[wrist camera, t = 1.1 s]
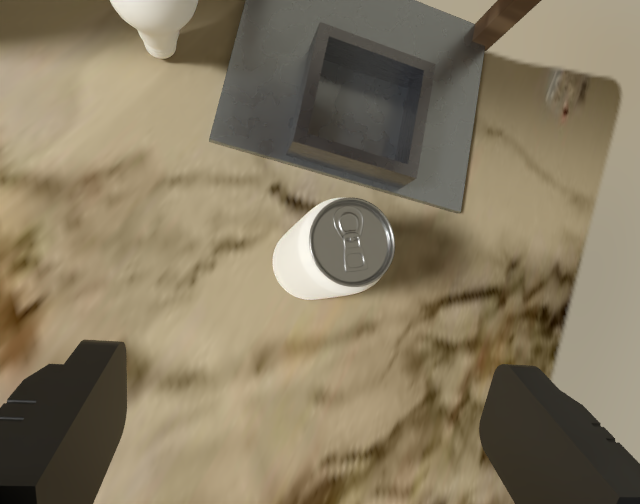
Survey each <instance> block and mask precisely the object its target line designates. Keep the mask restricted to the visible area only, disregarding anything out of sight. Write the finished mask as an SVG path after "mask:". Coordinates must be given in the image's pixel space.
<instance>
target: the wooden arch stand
mask: <svg viewBox="0 0 640 504" xmlns="http://www.w3.org/2000/svg"><path fill="white" fill-rule="evenodd" d="M540 1H541V0H498V1H497V2H496V3H495V4H494V5H493V6H492V7H491V8H490V9H489V10H488V11H487V12H486V13H485V14H484V16H483V17H482V18H480V19H479V21H478V22H477V23H476V24H475V27H474V34H473V40H472V41H473V42H476V43H478V44H481V45H483V46H485V50H484V51H486V50H487V49H489V48H490V47H491V46H492V45H493V44H494V43H495V42H496V41H497V40H498V39H499V38H500V37H502V36H503V35H504V34H505V33H506V32H507V31H508V30H509V29H510V28H511V27H513V26H514V24H516V23H517V22H518V21H519V20H520V19H521V18H522V17H524V16H525V15H526V14H527V13H528V12H529V11H530V10H531V9H532V8H533V7H534V6H536V5H537V4H538V3H539V2H540Z"/></svg>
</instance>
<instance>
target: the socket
mask: <svg viewBox="0 0 640 504" xmlns="http://www.w3.org/2000/svg"><path fill="white" fill-rule="evenodd" d="M474 27H475V24H473V23H471V22H468V21H466V20H463V19H461V18H458V17H456V16H453V15H451V14H448V13H445V12H443V11H440V10H438V9H435V8H433V7H430V6H428V5H425V4H423V3H420V2H418V1H415V0H246V1H245V5H244V9H243V13H242V17H241V20H240V24H239V28H238V32H237V36H236V39H235V43H234V47H233V51H232V55H231V58H230V62H229V66H228V70H227V74H226V77H225V81H224V85H223V89H222V93H221V96H220V100H219V104H218V108H217V112H216V116H215V119H214V123H213V127H212V131H211V135H210V138H209V142H212V143H216V144H219V145H223V146H226V147H229V148H233V149H236V150H240V151H243V152H247V153H250V154H254V155H257V156H261V157H264V158H267V159H271V160H274V161H278V162H281V163H285V164H288V165H292V166H295V167H299V168H302V169H306V170H309V171H312V172H316V173H319V174H323V175H326V176H330V177H333V178H337V179H340V180H344V181H347V182H351V183H354V184H357V185H361V186H364V187H368V188H371V189H375V190H378V191H382V192H385V193H389V194H392V195H395V196H399V197H402V198H406V199H409V200H413V201H416V202H420V203H423V204H427V205H430V206H434V207H437V208H440V209H444V210H447V211H451V212H454V213H460V212H461V207H462V200H463V193H464V187H465V180H466V173H467V166H468V159H469V152H470V146H471V139H472V132H473V125H474V118H475V112H476V105H477V98H478V91H479V84H480V77H481V71H482V64H483V57H484V50H485V46H483V45H481V44H478V43H476V42H473V41H472V40H473V34H474Z"/></svg>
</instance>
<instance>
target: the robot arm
mask: <svg viewBox="0 0 640 504" xmlns="http://www.w3.org/2000/svg"><path fill="white" fill-rule="evenodd" d="M126 412H127V373H126V347H125V344H124V342H115V341H97V340H83V341H81V342H80V344H79V345H78V346H77V348H76V349H75V350H74V352H73V353H72V354H71V356H70V357H69V358H68V360H67V361H66V362H65V364H64V365H62V364H48V365H47V366H45V367H44V368H42V369H40V370H39V371H37V372H36V373H34V374H32V375H31V376H29V377H28V378H26V379H24V380H23V381H22V383H21V384H20V385H19V386H18V387H17V389H16V390H15V391H14V392H13V393H12V395H11V396H10V397H9V398H8V399H7V403H6V404H5V403H4V404H3V405H2V406H1V408H0V504H93V502H94V500H95V498H96V495H97V493H98V491H99V488H100V486H101V484H102V481H103V479H104V477H105V474H106V472H107V470H108V467H109V465H110V463H111V460H112V458H113V456H114V453H115V451H116V448H117V446H118V444H119V441H120V439H121V436H122V433H123V429H124V425H125V420H126ZM479 432H480V440H481V444H482V447H483V449H484V451H485V453H486V455H487V456H488V458H489V460H490V461H491V463H492V465H493V467H494V468H495V470H496V472H497V473H498V475H499V477H500V479H501V480H502V482H503V484H504V485H505V487H506V489H507V491H508V492H509V494H510V496H511V497H512V499H513V501H514V503H515V504H640V464H639V463H638V462H637V461H636V460H635V459H634V458H633V456H632V455H631V454H629V452H628V451H627V450H626V449H625V448H624V447H622V445H621V444H620V443H616V442H615V438H614V437H613V436H612V435H611V434H610V433H609V432H608V431H607V430H606V429H605V428H604V427H601V426H600V423H599V422H598V421H597V420H596V419H595V418H594V417H593V416H592V414H591V413H590V412H589V411H588V410H587V409H586V408H585V407H584V406H583V405H581V404H580V403H578V402H577V401H575V400H574V399H572V398H571V397H569V396H568V395H566V394H565V393H563V392H562V391H560V390H559V389H558V388H557V387H556V386H555V385H554V384H553V383H552V382H551V380H550V379H549V378H548V377H547V376H546V375H545V374H544V373H543V372H542V371H541V370H540V369H539V368H537V367H536V366H526V365H508V364H502V365H499V366H498V367H497V369H496V370H495V372H494V375H493V379H492V382H491V386H490V389H489V392H488V396H487V399H486V402H485V406H484V409H483V413H482V416H481V420H480V426H479Z"/></svg>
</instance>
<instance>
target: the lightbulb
mask: <svg viewBox="0 0 640 504" xmlns="http://www.w3.org/2000/svg"><path fill="white" fill-rule="evenodd" d="M110 2H111V4H112V6H113V7H114V9H115V10H116V12H117V13H118V14H119V15H120V16H121V18H122V19H124V20H125V21H126V22H127V23H128V24H130V25H131V26H133V27H134V28H136V29H137V30H138V33H139V35H140V37H141V38H142V40H143V41H144V45H145V47H146V49H147V51H148V52H149V54H151V55H152V56H154V57H156V58H159V59H165V58H169V57H171V56H172V55H173V54H174V53H175V51H176V44H177V39H178V37H179V30H180V29H181V28H182V27H184V26H185V25H186V24H187V23H188V22H189V21H190V19H191V18H192V16H193V15H194V12H195V10H196V7H197V4H198V0H110Z"/></svg>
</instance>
